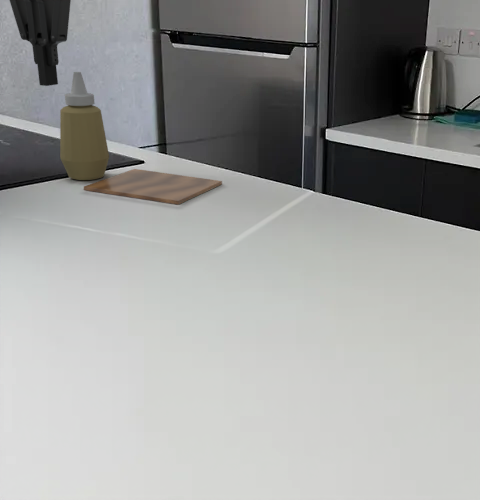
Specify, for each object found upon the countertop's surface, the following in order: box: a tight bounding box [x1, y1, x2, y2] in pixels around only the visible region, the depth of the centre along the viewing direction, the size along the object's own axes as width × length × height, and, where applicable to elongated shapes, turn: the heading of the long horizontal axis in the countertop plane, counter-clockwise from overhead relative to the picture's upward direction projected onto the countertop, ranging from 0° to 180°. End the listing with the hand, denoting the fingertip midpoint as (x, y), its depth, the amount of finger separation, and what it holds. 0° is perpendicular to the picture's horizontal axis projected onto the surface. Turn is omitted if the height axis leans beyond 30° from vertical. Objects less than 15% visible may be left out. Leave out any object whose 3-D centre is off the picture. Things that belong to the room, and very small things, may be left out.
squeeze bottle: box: [59, 71, 110, 181], centre depth 117 cm, size 8×8×18 cm
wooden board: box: [83, 168, 223, 205], centre depth 116 cm, size 18×14×1 cm
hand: (48, 84), depth 117 cm, fingers closed
